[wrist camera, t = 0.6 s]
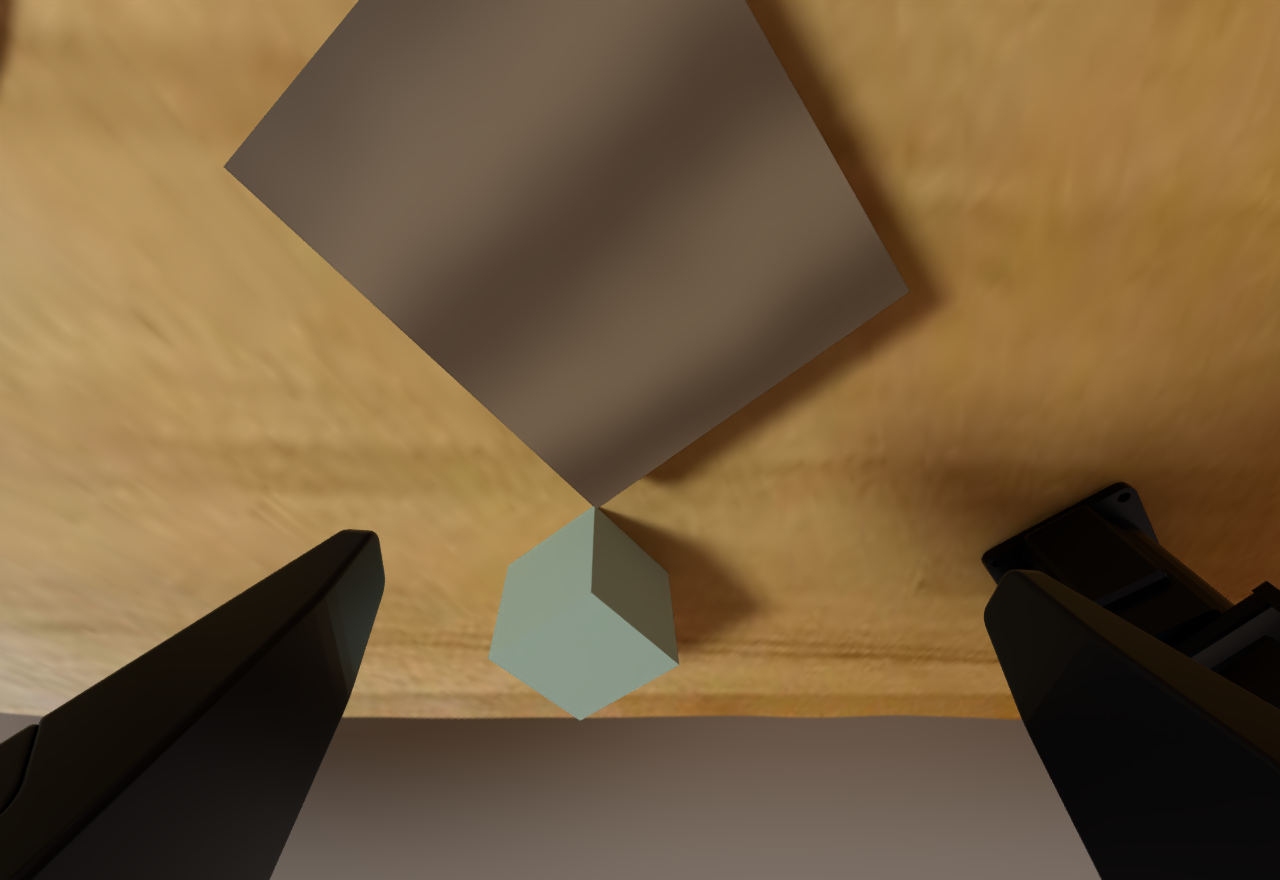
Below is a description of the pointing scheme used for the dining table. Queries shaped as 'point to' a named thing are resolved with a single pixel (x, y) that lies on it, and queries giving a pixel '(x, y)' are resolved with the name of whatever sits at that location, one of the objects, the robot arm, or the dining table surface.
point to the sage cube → (585, 617)
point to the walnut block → (577, 212)
